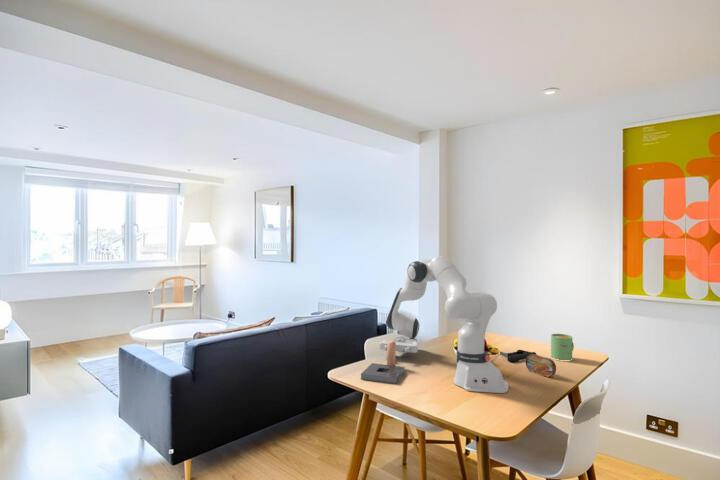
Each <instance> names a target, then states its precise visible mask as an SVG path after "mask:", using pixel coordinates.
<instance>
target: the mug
mask: <svg viewBox="0 0 720 480" xmlns="http://www.w3.org/2000/svg"><path fill="white" fill-rule="evenodd" d="M574 346H575V345H574V341H573V336H572V335H569V334H564V333H551V334H550V358H551V357H552V358H555V359H559V360H571V359H572V360H573V352H574ZM552 358H551V359H552Z"/></svg>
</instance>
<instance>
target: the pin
mask: <svg viewBox="0 0 720 480" xmlns="http://www.w3.org/2000/svg"><path fill="white" fill-rule="evenodd" d="M396 352H397V351H396V342H395V341H394V340H392V341H388V342H387V351H386V355H387V357H386V358H387V359H386V361H387V362H386V365H392V366H396V358H397V357H396V356H397V355H396V354H397V353H396Z"/></svg>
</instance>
